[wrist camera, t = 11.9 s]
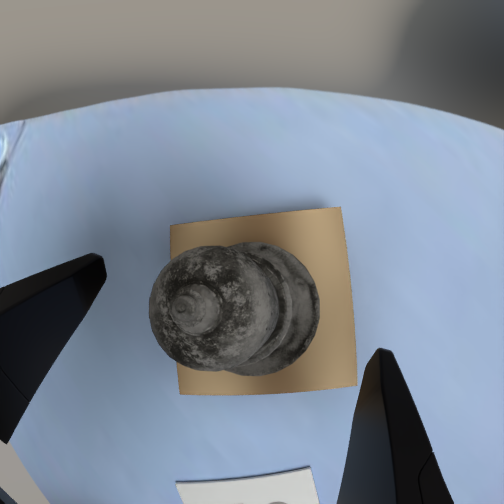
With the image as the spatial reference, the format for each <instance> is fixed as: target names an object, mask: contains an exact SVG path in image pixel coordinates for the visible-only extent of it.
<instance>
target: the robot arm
mask: <svg viewBox="0 0 504 504" xmlns="http://www.w3.org/2000/svg"><path fill="white" fill-rule="evenodd" d="M106 278H107V273H106V268H105V264H104V259H103V257H102V256H100V255H98V254H95V253H90V254H87V255H84V256H82V257H79V258H76V259H73V260H71V261H68V262H65V263H63V264H60V265H57V266H55V267H52V268H50V269H47V270H44V271H42V272H39V273H37V274H34V275H32V276H29V277H27V278H24V279H22V280H19V281H17V282H14V283H12V284H9V285H7V286H5V287H2V288H0V440H1V441H3V442H4V443H5V444H7V443H8V442H9V440H10V438H11V436H12V434H13V432H14V430H15V428H16V427H17V425H18V423H19V421H20V419H21V417H22V416H23V414H24V412H25V410H26V408H27V407H28V405H29V402H30V401H31V399H32V398H33V396H34V394H35V393H36V391H37V389H38V388H39V386H40V384H41V383H42V381H43V379H44V378H45V376H46V374H47V373H48V371H49V370H50V368H51V366H52V365H53V363H54V362H55V360H56V359H57V357H58V356H59V354H60V352H61V351H62V349H63V348H64V346H65V345H66V343H67V342H68V340H69V339H70V337H71V336H72V334H73V333H74V331H75V330H76V329H77V327H78V326H79V324H80V323H81V321H82V320H83V318H84V317H85V315H86V314H87V312H88V310H89V309H90V307H91V305H92V303H93V302H94V300H95V298H96V296H97V295H98V293H99V291H100V290H101V288H102V286H103V285H104V283H105V281H106ZM432 451H433V449H432V447H431V444H430V441H429V438H428V436H427V433H426V431H425V428H424V425H423V423H422V420H421V418H420V415H419V413H418V410H417V408H416V405H415V403H414V400H413V398H412V396H411V393H410V391H409V389H408V386H407V384H406V382H405V379H404V377H403V375H402V372H401V370H400V368H399V366H398V363H397V361H396V359H395V357H394V354H393V353H392V351H391V350H387V349H383V348H378V349H377V350H376V351H375V353H374V354H373V356H372V357H371V359H370V360H369V362H368V363H367V365H366V367H365V371H364V375H363V380H362V384H361V388H360V392H359V396H358V400H357V404H356V408H355V412H354V417H353V422H352V429H351V435H350V441H349V447H348V452H347V458H346V463H345V468H344V473H343V478H342V482H341V487H340V491H339V496H338V500H337V504H454V502H453V500H452V497H451V495H450V493H449V491H448V488H447V486H446V484H445V481H444V479H443V476H442V474H441V471H440V468H439V466H438V463H437V460H436V457H435V455H434V452H432ZM0 504H17V503H16V502H15V501H14V500H13V499H12V498H11V497H10V496H9V495H8V494H7V493H6V492H5V491H4V490H3V489H2V488H1V487H0Z"/></svg>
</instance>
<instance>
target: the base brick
mask: <svg viewBox="0 0 504 504" xmlns="http://www.w3.org/2000/svg"><path fill="white" fill-rule="evenodd" d="M242 242H263V243H267V244H271V245H275V246H278V247H280V248H282V249H284V250H286V251H287V252H289V253H291V254H293V255H294V256H295V257H296V258H297V259H298V260H299V261H300V262H301V263H302V264H303V265H304V266H305V267H306V268H307V270H308V271H309V273H310V275H311V276H312V278H313V280H314V282H315V284H316V288H317V291H318V295H319V298H320V319H319V323H318V327H317V330H316V334H315V337H314V338H313V340H312V342H311V343H310V345H309V347H308V348H307V350H306V351H305V352H304V353H303V354H302V355H301V356H300V357H299V358H298V359H297V360H296V361H295V362H294V363H293V364H291V365H289V366H288V367H286V368H284V369H282V370H280V371H278V372H276V373H272V374H267V375H263V376H241V375H238V374H234V373H231V372H228V371H225V370H222V371H217V372H213V371H198V370H194V369H191V368H188V367H186V366H183V365H181V364H179V363H178V362H177V361H176V362H177V373H178V382H179V392H180V394H182V395H260V394H280V393H294V392H306V391H316V390H326V389H334V388H342V387H350V386H357V359H356V341H355V326H354V313H353V301H352V290H351V281H350V271H349V263H348V254H347V247H346V239H345V232H344V225H343V218H342V211H341V207H332V208H321V209H310V210H300V211H290V212H280V213H270V214H261V215H251V216H242V217H234V218H225V219H217V220H208V221H200V222H192V223H184V224H177V225H170V256H171V260H172V259H173V258H175V257H177V256H178V255H180V254H181V253H183V252H185V251H187V250H190V249H193V248H196V247H200V246H219V245H220V246H224V247H228V246H231V245H235V244H238V243H242Z"/></svg>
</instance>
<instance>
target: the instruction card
mask: <svg viewBox="0 0 504 504" xmlns="http://www.w3.org/2000/svg"><path fill="white" fill-rule="evenodd" d="M175 485H176V487H177V490H178V492H179V494H180V497H181V499H182V501H183V503H184V504H320V503H319V499H318V495H317V491H316V488H315V484H314V480H313V476H312V472H311V468H310V467H307V468H303V469H298V470H293V471H287V472H282V473H276V474H270V475H263V476H256V477H248V478H240V479H230V480H218V481H202V482H176V484H175Z"/></svg>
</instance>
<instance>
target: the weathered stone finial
mask: <svg viewBox="0 0 504 504" xmlns="http://www.w3.org/2000/svg"><path fill="white" fill-rule="evenodd" d="M149 318H150V323H151V328H152V331H153V333H154V335H155V337H156V339H157V342H158V344H159V345H160V346H161V348H162V349H163V350H164V351H165V352H166V353H167V355H168V356H169V357H171V358H172V359H174V360H175V361H177V362H178V363H179V364H181V365H183V366H186V367H188V368H191V369H194V370H198V371H213V372H217V371H222V370H225V371H228V372H231V373H234V374H238V375H241V376H263V375H267V374H272V373H276V372H278V371H280V370H282V369H284V368H286V367H288V366H289V365H291V364H293V363H294V362H295V361H296V360H297V359H298V358H299V357H300V356H301V355H302V354H303V353H304V352H305V351H306V350H307V348H308V347H309V345H310V343H311V342H312V340H313V338H314V337H315V334H316V330H317V327H318V323H319V319H320V298H319V295H318V291H317V288H316V284H315V282H314V280H313V278H312V276H311V275H310V273H309V271H308V270H307V268H306V267H305V266H304V265H303V264H302V263H301V262H300V261H299V260H298V259H297V258H296V257H295V256H294V255H293V254H291V253H289V252H287V251H286V250H284V249H282V248H280V247H278V246H275V245H271V244H267V243H263V242H242V243H238V244H235V245H231V246H228V247H224V246H220V245H219V246H200V247H196V248H193V249H190V250H187V251H185V252H183V253H181V254H180V255H178V256H177V257H175V258H173V259H172V260H171V261H170V262H169V263H168V264H167V265H166V266H165V267H164V268H163V269H162V271H161V272H160V274H159V276H158V278H157V279H156V281H155V283H154V285H153V288H152V292H151V296H150V299H149Z"/></svg>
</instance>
